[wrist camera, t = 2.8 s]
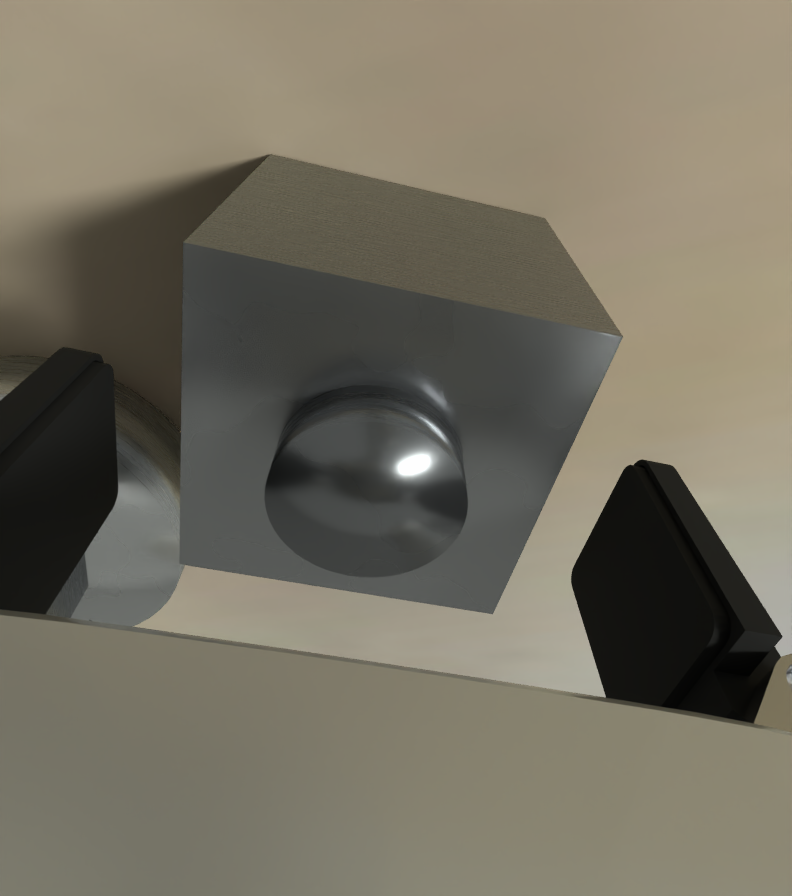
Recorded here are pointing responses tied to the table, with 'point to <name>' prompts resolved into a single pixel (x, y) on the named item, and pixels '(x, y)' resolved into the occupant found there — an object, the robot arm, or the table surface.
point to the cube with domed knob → (377, 384)
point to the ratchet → (125, 516)
